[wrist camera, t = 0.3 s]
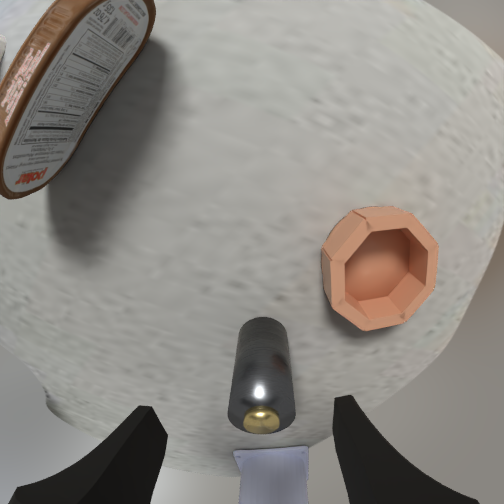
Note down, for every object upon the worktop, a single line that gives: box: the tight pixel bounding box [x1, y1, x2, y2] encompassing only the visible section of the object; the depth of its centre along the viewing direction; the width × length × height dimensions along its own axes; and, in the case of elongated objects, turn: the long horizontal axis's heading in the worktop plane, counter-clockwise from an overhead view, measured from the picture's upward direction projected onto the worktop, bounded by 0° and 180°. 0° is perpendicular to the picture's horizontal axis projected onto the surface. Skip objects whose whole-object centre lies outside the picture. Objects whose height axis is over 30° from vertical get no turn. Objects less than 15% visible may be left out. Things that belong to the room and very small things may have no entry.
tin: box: [0, 0, 156, 199], centre depth 11 cm, size 15×3×8 cm, turn 141°
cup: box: [321, 206, 439, 331], centre depth 16 cm, size 7×7×3 cm
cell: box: [228, 317, 296, 434], centre depth 16 cm, size 4×4×8 cm
